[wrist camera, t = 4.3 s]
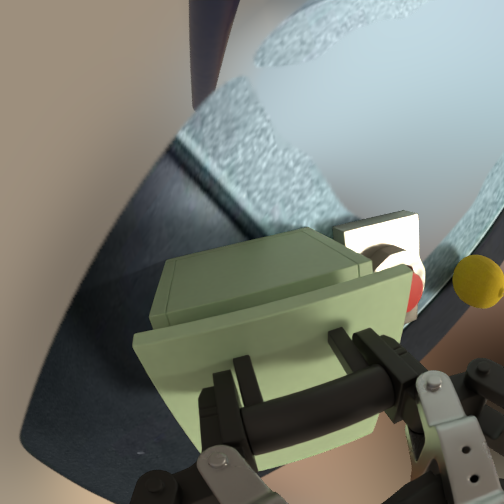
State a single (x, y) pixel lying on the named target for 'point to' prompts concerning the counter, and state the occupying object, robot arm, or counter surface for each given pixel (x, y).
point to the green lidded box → (251, 275)
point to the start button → (415, 292)
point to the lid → (286, 365)
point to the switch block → (386, 243)
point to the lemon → (478, 281)
